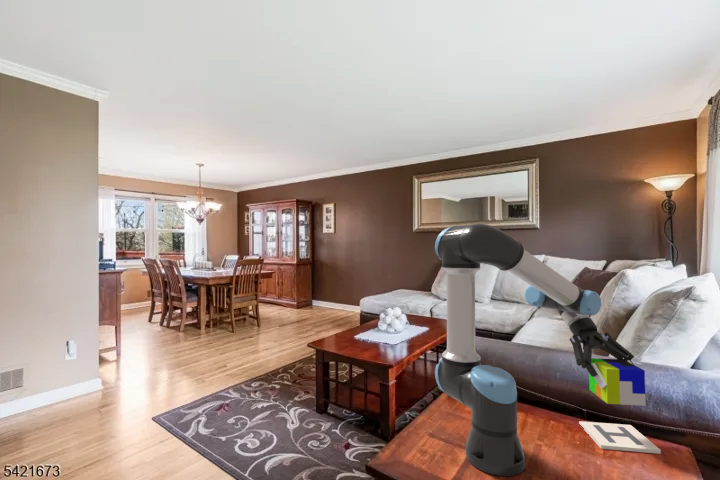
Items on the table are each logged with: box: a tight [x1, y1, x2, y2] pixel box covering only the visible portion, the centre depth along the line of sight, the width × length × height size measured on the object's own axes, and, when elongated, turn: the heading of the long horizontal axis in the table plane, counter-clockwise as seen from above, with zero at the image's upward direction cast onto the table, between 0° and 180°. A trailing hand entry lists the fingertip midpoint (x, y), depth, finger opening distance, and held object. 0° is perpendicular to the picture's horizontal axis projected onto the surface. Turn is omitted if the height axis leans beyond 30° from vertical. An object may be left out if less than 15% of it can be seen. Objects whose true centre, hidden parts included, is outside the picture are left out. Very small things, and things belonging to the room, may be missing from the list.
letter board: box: [578, 420, 662, 455], centre depth 104 cm, size 15×14×1 cm
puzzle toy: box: [588, 357, 647, 407], centre depth 104 cm, size 10×10×10 cm
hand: (623, 384), depth 102 cm, fingers closed on puzzle toy, 12 cm apart
